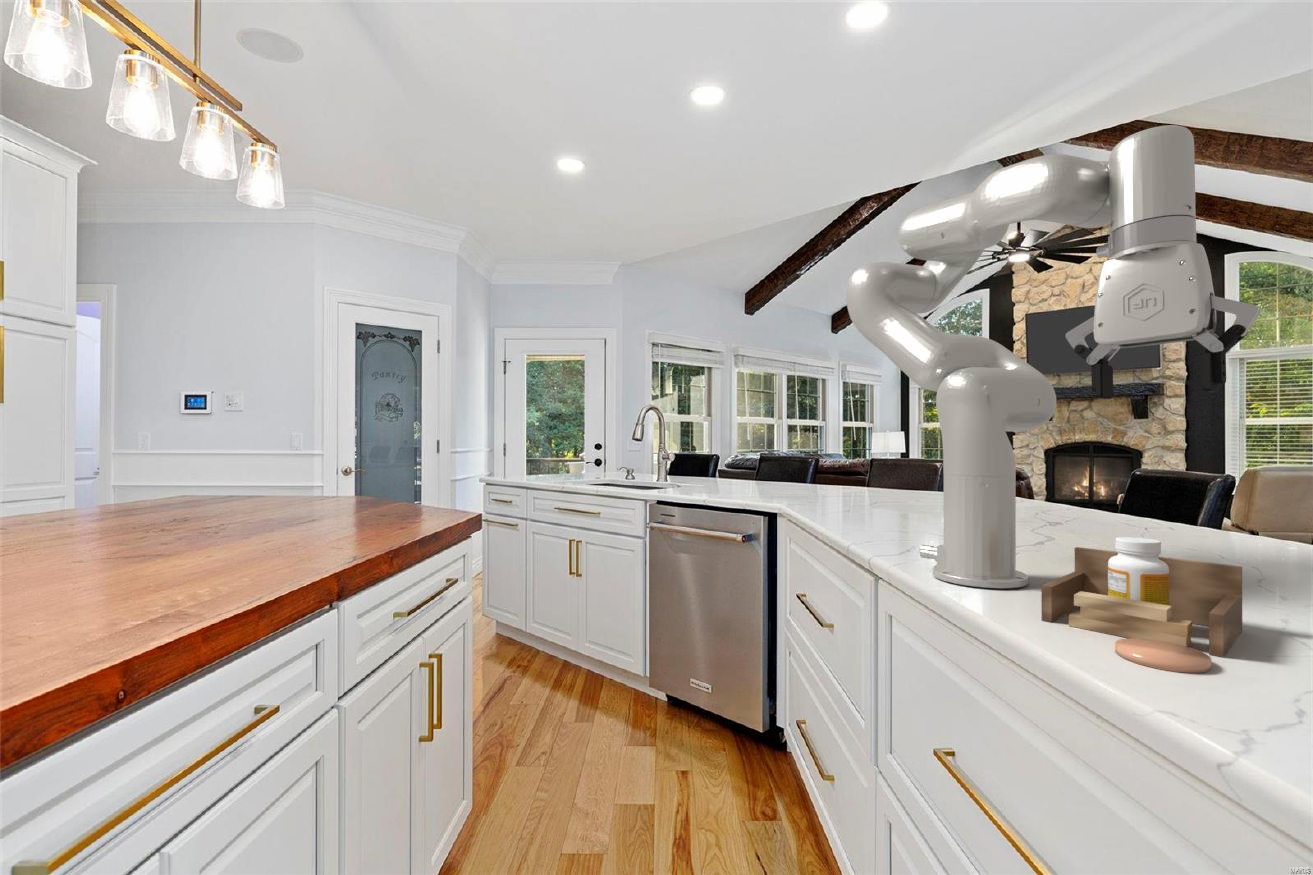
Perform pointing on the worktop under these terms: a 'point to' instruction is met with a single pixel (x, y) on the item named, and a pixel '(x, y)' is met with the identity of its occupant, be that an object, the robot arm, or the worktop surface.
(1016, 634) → the worktop surface
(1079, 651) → the worktop surface
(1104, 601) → the frame
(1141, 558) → the supplement bottle
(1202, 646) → the worktop surface
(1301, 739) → the worktop surface
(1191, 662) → the terracotta coaster
